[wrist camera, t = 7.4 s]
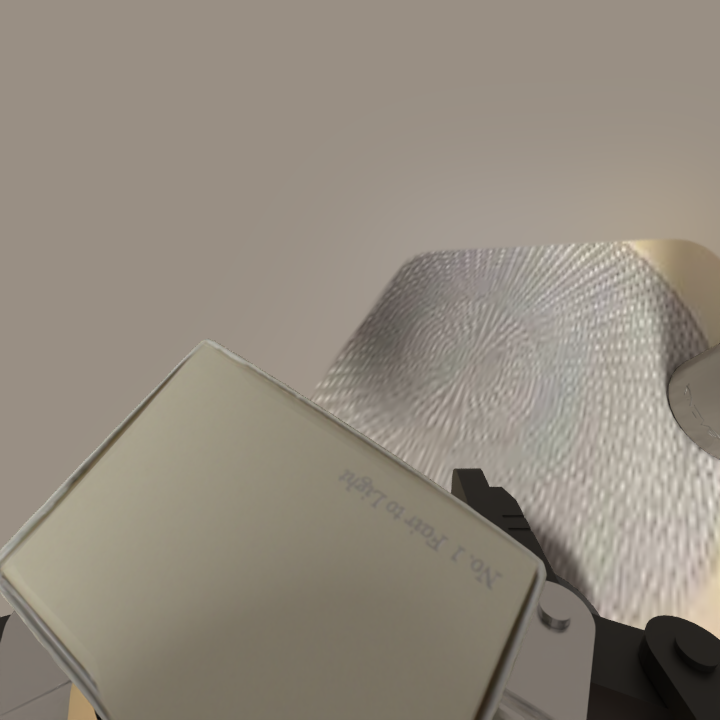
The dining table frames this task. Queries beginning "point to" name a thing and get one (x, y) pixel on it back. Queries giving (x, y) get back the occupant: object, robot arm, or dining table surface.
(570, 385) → the dining table surface
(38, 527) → the skincare box
